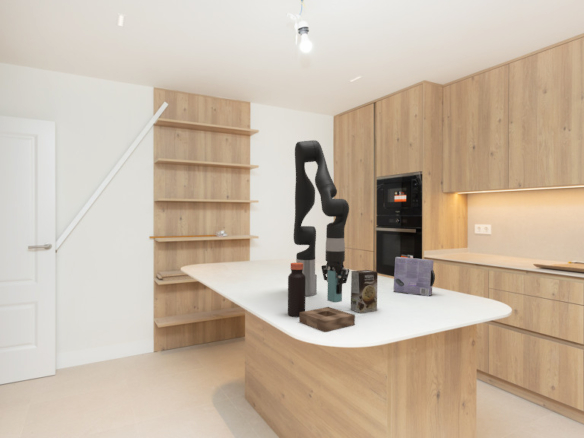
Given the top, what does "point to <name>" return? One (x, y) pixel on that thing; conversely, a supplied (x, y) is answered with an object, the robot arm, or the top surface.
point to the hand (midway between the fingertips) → (334, 292)
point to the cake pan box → (413, 276)
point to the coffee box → (364, 290)
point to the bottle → (296, 290)
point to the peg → (333, 288)
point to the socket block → (326, 318)
